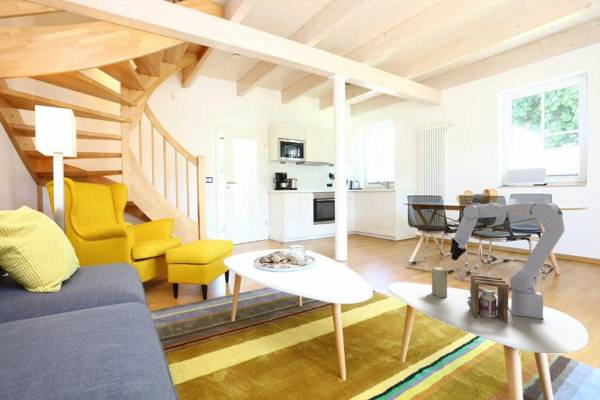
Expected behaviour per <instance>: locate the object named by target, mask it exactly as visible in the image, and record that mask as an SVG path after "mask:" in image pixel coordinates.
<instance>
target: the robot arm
mask: <svg viewBox="0 0 600 400" xmlns="http://www.w3.org/2000/svg"><path fill="white" fill-rule="evenodd" d="M520 212H523V213H525V214H527V215H532V216H533V217H534V218H535V219H536V220H537V221H538V222H539V223H540V224H541V227H543V229H544V232H543V233H542V234H541V237H540V238H539V240H538V241H537V242H536V244H535V246H534V248H533V249H532V251H531V253H530V254H529V256H528V258H527V259H526V261H525V263H523V264H524V265H522V266H521V268H519V270H518V271H517V272H516V273H515V274H514V275H512V276H510V279H509V285H510V286H511V295H510V296H511V297H510V298H511V299H510V300H511V301H510V303H511V305H510V306H508V311H510V312H511V314H512V315H513V316H522V317H527V318H535V319H543V320H544V319H545V318H544V298H543V294H542V293H541V292H540V291H536V290H535V288H534V287H535V286H536V285H537V284H538V283H537V278H538V276H539V273H540V270H541V269H542V267H543V266H544V264H545V262H546V261H547V259H549V256H550V255H551V253H552V251H553V250H554V249H555V247H556V245H557V244H558V242H559V240H560V239H561V237H562V236H563V234H564V232H565V225H564V223H565V222H564V219H563V211H562V210H561V209H560V207H559V206H558V205H557V204H556V203H554V202H533V201H532V202H531V201H530V202H529V201H528V202H520V203H511V204H504V205H500V204H499V203H498V202H493V201H490V202H488V203H484V204H481V203H476V205H471V204H470V205H467V206H465V207H464V208H463V211H462V213H463V217H462V218H461V221H460V222H459V225H458V227H457V229H456V232H455V234H454V235H451V236H450V237H451V246H450V252H449V253H450V254H451V260H453V261H455V262H457V260H458V259H459V258H460V257H461V255H463V254H464V253H466V252H467V248H465V246H466V245H467V244H468V243H469V240H470V237H471V235H472V233H473V231H474V229H475V227H476V224H477V222H478V221H479V220H478V219H483V218H484V219H485V218H498V217H500V216H501V214H505V213H520Z"/></svg>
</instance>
